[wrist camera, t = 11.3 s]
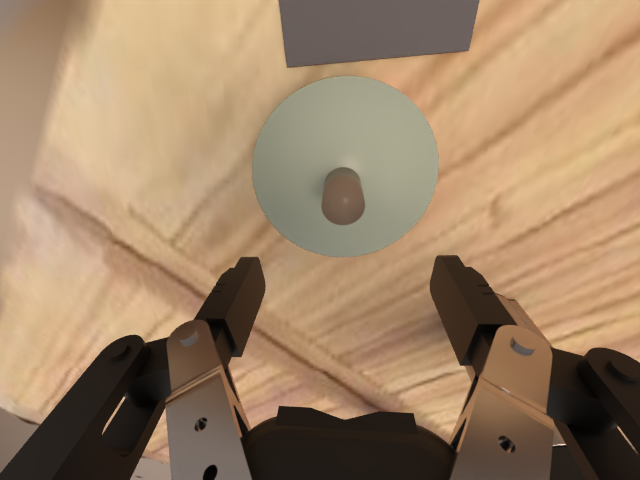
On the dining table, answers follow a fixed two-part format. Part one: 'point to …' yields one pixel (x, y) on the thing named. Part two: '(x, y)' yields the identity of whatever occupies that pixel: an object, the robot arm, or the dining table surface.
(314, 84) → the lid
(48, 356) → the dining table surface
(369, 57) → the mat
